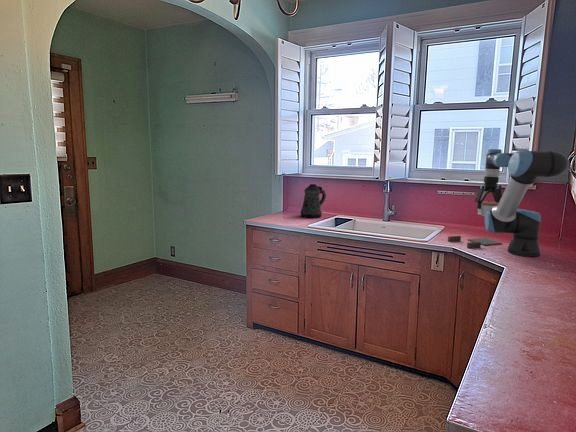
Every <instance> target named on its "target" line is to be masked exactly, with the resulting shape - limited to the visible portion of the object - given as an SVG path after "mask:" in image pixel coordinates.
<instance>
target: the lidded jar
mask: <svg viewBox="0 0 576 432" xmlns="http://www.w3.org/2000/svg"><path fill="white" fill-rule="evenodd" d="M482 203H483V210H482V215H481V216H482V217H485V212H486V211H489V210H490V211H492V209H493V207H494V206H496V205H498V203H497V202H495V201H491V200H490V199H487V201H486V200H483V202H482Z"/></svg>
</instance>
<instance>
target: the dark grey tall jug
mask: <svg viewBox="0 0 576 432" xmlns="http://www.w3.org/2000/svg"><path fill="white" fill-rule="evenodd" d="M320 195H321V196H322V197H321V199H320ZM326 196H327V194H326V191H325V190H324V189H323V187H322V186H319V185H317V184H313V183H310V184H309V185H308V186H307V187H306V188H305V189H304V197H303V202H302V207H301V209H300V217H301V218H304V219H321V217H322V214H323V213H322V210H321V206H322V205H323V204H324V202H325V200H326V198H327V197H326Z"/></svg>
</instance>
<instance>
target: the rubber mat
mask: <svg viewBox="0 0 576 432" xmlns="http://www.w3.org/2000/svg"><path fill="white" fill-rule="evenodd" d="M467 241H469V242H481V246H483V247H484V246H486V247H487V246H495V245H497V246H498V245H502V244H503V243H502V242H500V241H496V240H492V239H490V238H487V237H480V238H467Z"/></svg>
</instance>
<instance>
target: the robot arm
mask: <svg viewBox="0 0 576 432" xmlns="http://www.w3.org/2000/svg"><path fill="white" fill-rule="evenodd" d="M485 156H486V157H485V158H486V159H485V166H484V167H485V168H484V177H483V183H484V185H482V184H480V185H479V186H478V188H479V189H478V192H477V193H476V197H475V199H474V202H475V203H477V215H480V216H482V210H483V203H482V202H483V201H485V198H486V197H487V195H488V194H489V193H491V194H492V195H491V196H492V197H493V200H494V202H497V203H498V205H496V206H494V207H493V209H492V211H490V210H489V211H486V212H485V216H484V226H485V230H486V231H487V232H488V233H493V234H496V233H497V234H498V233H499V234H512V239H511V240H510V242H509V245H508V246H507V252H508V254H509V253H510V254H512V255H516V256H520V255H523V256H522V257H527V256H537V257H539V255H540V256H541V248H540V244H539V238H540V237H539V236H540V229H541V223H542V220H541V219H542V215H541V213H540V212H537V211H533V210H529V209H523V208H518V207H520V206H519V205H520V203H521V202H522V200H523V198H524V197H525V194H527V191H528V189H529V188H530V186H531V185H534V184H535V183H536V182H537V180H538V179H539V178H555V177H558V176H561V175H563V174H564V173H565V172H567V170H568V169H569V166H570V160H569V157H567V155H566V154H564V153H562V152H558V151H555V150H554V151H553V150H526V149H525V150H517V151H516V152H503V151H502V149H499V148H498V149H497V148H494V149H493V148H489V149H487V150H486V155H485ZM500 168H507V172H508V174H509V177H510V179H509V180H508V183H507V185H506V187H505V188H504V191H503V193H502V185H500V184H498V183H499V178H500V177H499V176H500V172H501V171H500V170H501V169H500Z"/></svg>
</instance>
